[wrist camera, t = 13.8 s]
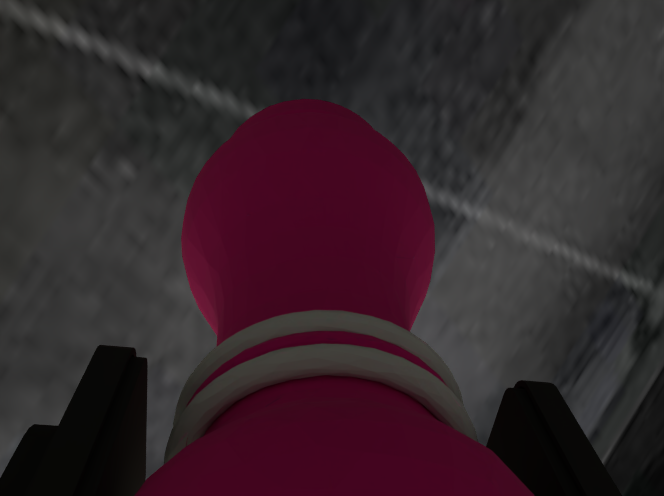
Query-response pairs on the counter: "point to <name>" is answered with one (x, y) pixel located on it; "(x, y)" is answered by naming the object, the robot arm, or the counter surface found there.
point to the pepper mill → (317, 324)
